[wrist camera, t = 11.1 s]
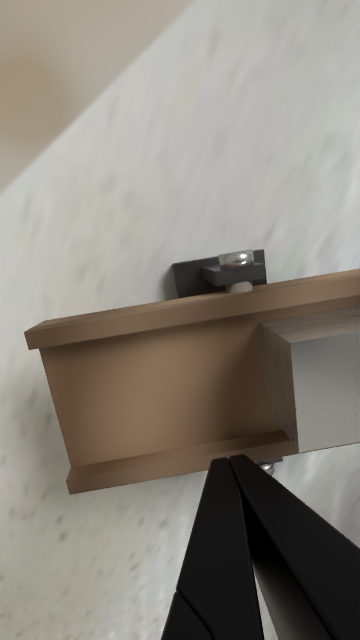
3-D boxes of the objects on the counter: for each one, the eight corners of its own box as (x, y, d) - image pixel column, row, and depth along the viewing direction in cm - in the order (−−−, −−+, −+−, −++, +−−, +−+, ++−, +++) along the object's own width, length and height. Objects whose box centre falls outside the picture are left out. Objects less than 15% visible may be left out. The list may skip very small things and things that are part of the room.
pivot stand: (257, 246, 17) (302, 241, 12) (273, 408, 19) (317, 469, 14) (172, 260, 17) (175, 262, 11) (197, 421, 19) (211, 488, 14)
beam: (382, 250, 16) (477, 248, 11) (383, 389, 17) (465, 438, 13) (60, 303, 15) (15, 324, 11) (94, 439, 17) (69, 510, 12)
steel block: (376, 302, 12) (442, 316, 9) (378, 389, 13) (438, 427, 10) (259, 322, 12) (290, 343, 9) (268, 409, 13) (299, 452, 10)
